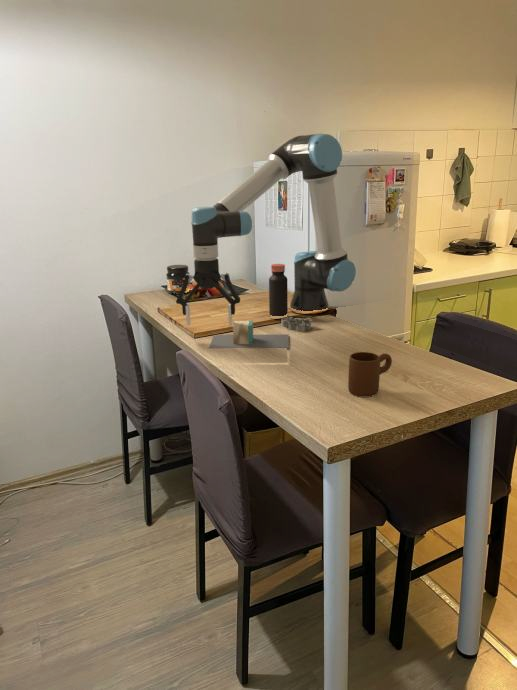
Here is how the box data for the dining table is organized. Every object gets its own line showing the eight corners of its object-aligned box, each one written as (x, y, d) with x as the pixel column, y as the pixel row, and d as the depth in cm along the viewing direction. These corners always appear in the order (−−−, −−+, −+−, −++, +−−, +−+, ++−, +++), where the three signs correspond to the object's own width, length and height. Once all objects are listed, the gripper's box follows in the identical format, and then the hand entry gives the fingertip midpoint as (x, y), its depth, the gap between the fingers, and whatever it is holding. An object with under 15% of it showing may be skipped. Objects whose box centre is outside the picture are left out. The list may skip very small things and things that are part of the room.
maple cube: (235, 338, 179) (253, 338, 179) (233, 344, 173) (252, 343, 173) (234, 320, 177) (252, 320, 177) (232, 326, 171) (251, 325, 171)
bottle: (267, 319, 202) (266, 266, 196) (272, 315, 208) (271, 263, 202) (285, 320, 200) (284, 266, 194) (289, 316, 206) (289, 263, 200)
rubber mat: (288, 336, 182) (288, 334, 182) (288, 349, 169) (288, 347, 169) (214, 336, 183) (214, 334, 183) (208, 349, 170) (208, 348, 170)
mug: (380, 381, 143) (382, 347, 140) (399, 391, 137) (401, 355, 134) (342, 389, 138) (343, 354, 135) (359, 400, 132) (361, 363, 129)
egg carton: (314, 329, 190) (314, 318, 189) (299, 333, 185) (299, 322, 184) (292, 323, 198) (292, 312, 196) (277, 327, 193) (277, 316, 192)
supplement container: (163, 294, 246) (161, 268, 242) (174, 289, 255) (172, 264, 252) (184, 295, 243) (182, 268, 239) (194, 290, 252) (193, 264, 248)
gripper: (163, 261, 165) (168, 328, 172) (245, 260, 164) (247, 327, 171) (168, 257, 172) (173, 321, 179) (247, 256, 171) (248, 320, 178)
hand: (209, 324), depth 175 cm, fingers open, 13 cm apart
